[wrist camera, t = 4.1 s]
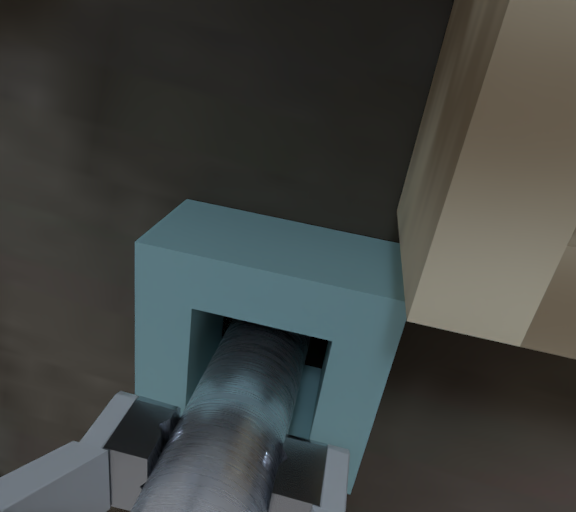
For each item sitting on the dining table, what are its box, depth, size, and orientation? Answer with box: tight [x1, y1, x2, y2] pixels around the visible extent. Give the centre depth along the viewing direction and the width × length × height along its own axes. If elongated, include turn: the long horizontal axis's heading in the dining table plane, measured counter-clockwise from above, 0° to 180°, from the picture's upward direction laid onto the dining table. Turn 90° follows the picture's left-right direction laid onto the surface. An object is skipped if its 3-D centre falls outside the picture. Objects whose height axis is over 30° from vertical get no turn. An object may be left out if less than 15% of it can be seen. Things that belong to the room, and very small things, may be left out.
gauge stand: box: [135, 199, 407, 494], centre depth 14 cm, size 7×7×4 cm
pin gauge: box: [130, 318, 311, 512], centre depth 11 cm, size 3×3×12 cm
